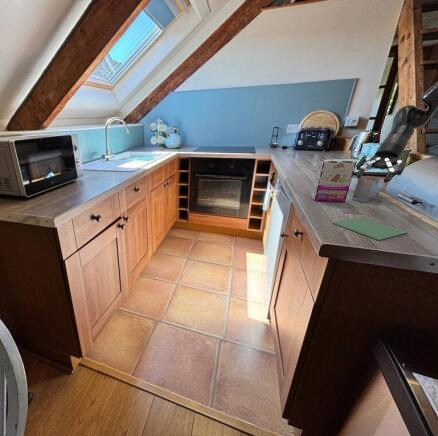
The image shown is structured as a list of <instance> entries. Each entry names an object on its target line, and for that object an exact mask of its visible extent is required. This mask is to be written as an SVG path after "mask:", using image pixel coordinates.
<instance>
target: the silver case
mask: <svg viewBox="0 0 438 436" xmlns="http://www.w3.org/2000/svg"><path fill="white" fill-rule="evenodd" d="M381 181H382V177H380V176H379V177H378V176H371V175H364V176H362V177H361V178H359V179H358V178H357V183H356V186H355V188H354V192H353V195H352V198H351V200H352V201H356V202H360V203H368V202H371V201H373V200H374V199H375V197H376V195H377V192H378V189H379V186H380V183H381Z"/></svg>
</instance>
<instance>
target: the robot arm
mask: <svg viewBox="0 0 438 436" xmlns="http://www.w3.org/2000/svg"><path fill="white" fill-rule="evenodd" d="M420 101H421V102H422V103H423V104H425V105H426V106H427V107H426V108H425V109H422V108H420V107H418V106H416V105H413V104H407V105H404V106H402V107H400V108H399V109H398V111H396V113H395V114H394V116H393V120H392V124H391V129H390V131H389V132H388V135H386V137H385V138H384V139H383V141H382V142H381V143H380V145H379V147H378V148H377V150H376V151H375V153H374V155H373V156H372V157H370V156H369V157H368V156H367V155H363V156H362V157H361V158H360V159H359V161H357V163H356V166H355V169H356V171H357V173H356V178H357V180H358V179H359V178H362V177H363V175H364V174H365V172H366V171H370V170H372V169H375V170H386V171H387V174H386V175H385V177H384V179H383V183H385V184H386V183H389V182H390V181H391V180H392V178H393V177H394V176H401V175H402V174H403V172H404V170H405V168H406V166H407V165H408V164H407V163H408V159H406V158H404V159H401V160H400V157H401V155H402V154H403V152H404V151H405V150H406V148H407V146H408V143H409V141H410V140H411V139H412V136H413V135H414V134H415V130H416V129H420V128H421V127H424V126H425V125H426V124H427V123H428V122H429V120H430V119H431V118H432V116H433V115H434V113H435V112H436V111H437V110H438V81H436V82H435V83H434V84H433V85H432V86H431V87H429V89H428V90H426V91H425V93H423V94H422V95H421V96H420ZM396 165H398V168H397V169H394V167H393V166H396Z"/></svg>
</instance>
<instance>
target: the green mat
mask: <svg viewBox="0 0 438 436" xmlns="http://www.w3.org/2000/svg"><path fill="white" fill-rule="evenodd" d="M332 225H335V226H338V227H340V228H343V229H346V230H348V231H351V232H354V233H356V234H359V235H361V236H364V237H367V238H369V239H372V240H375V241H378V242H381V241H384V240H388V239H391V238H395V237H398V236H399V237H400V236H403V235H407V234H408V231H406V230H402V229H400V228H396V227H393V226H389V225H387V224H383V223H380V222H377V221H375V220H370V219H367V218H364V217H362V216H356V217H352V218H348V219H342V220H339V221H334V222H332Z"/></svg>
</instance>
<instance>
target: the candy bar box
mask: <svg viewBox="0 0 438 436" xmlns="http://www.w3.org/2000/svg"><path fill="white" fill-rule="evenodd" d="M357 164H358V161H356V160H354V159H324V158H323V159H319V160H318V165H317V168H316V173H315V178H314V180H313V187H312V190H311V195H310V199H311V200H313V201H315V202H327V203H328V202H329V203H346V200H347V197H348V193H349V190H350V186H351V183H352V180H353V175H354V174H355V173H354V172H355V169H356V165H357Z"/></svg>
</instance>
